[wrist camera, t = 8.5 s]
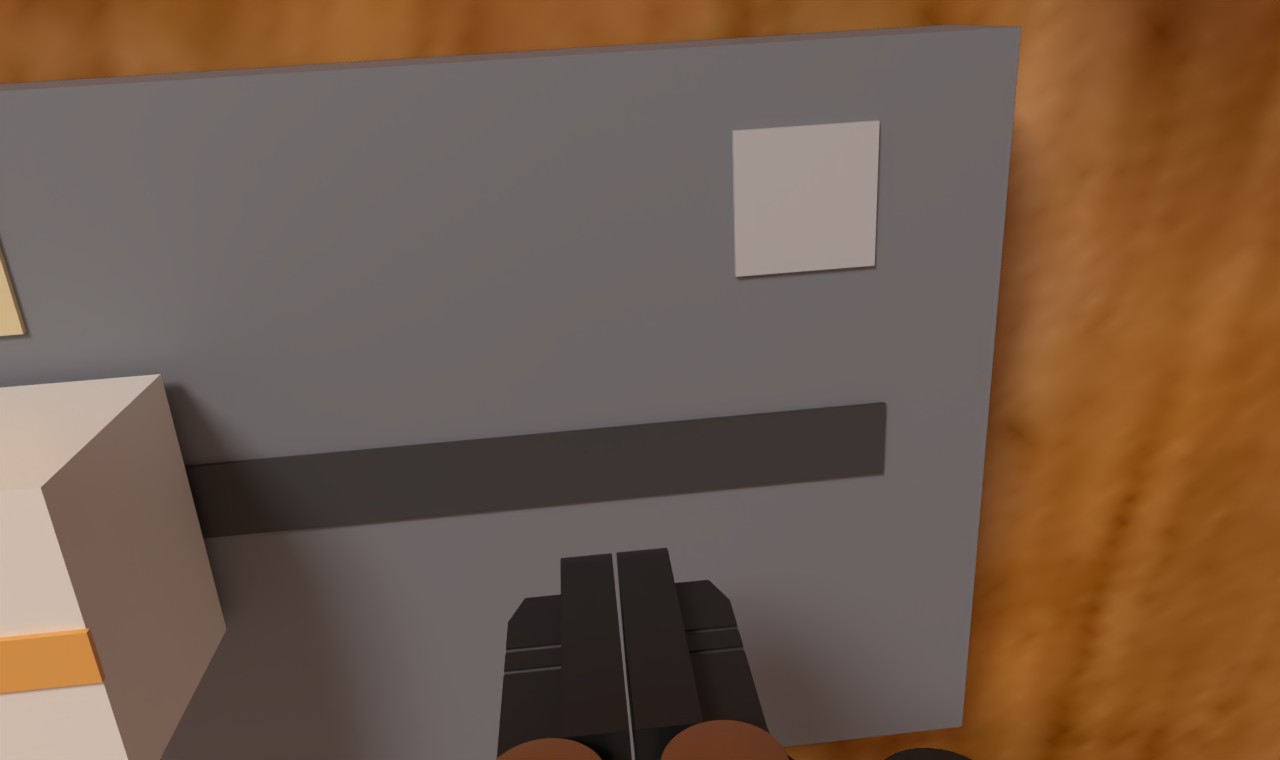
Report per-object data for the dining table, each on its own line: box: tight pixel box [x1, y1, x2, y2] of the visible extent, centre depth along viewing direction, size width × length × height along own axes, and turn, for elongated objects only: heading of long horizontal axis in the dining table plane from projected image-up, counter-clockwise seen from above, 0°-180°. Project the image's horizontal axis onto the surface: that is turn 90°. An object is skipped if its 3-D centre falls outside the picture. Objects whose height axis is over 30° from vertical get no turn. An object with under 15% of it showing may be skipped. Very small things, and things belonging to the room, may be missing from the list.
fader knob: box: [0, 374, 227, 760], centre depth 14 cm, size 4×5×4 cm
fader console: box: [0, 25, 1021, 760], centre depth 18 cm, size 21×14×3 cm, turn 93°
